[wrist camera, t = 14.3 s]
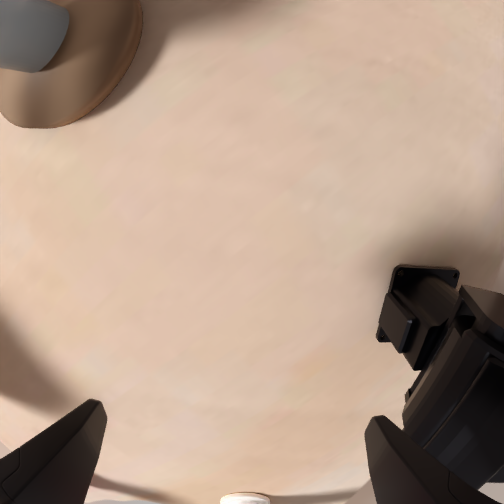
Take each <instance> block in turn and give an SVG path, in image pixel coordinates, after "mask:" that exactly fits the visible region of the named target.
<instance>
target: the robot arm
mask: <svg viewBox="0 0 504 504" xmlns="http://www.w3.org/2000/svg"><path fill="white" fill-rule="evenodd" d="M401 270H402V272H401V273H400V274H399V275H398V272H399V271H401ZM454 273H455V275H454ZM453 275H454V276H453ZM459 275H460V273H459V271H458V270H457V269H455V268H441V267H424V266H406V265H398V266H396V267H395V268H394V270H393V273H392V277H391V282H390V286H389V290H388V293H387V294H386V296H385V300H384V303H383V307H382V311H381V314H380V318H379V327H378V330H377V333H376V338H377V340H378V341H379V342H392V344H393V345H394V347H395V349H396V350H397V352H398V353H399V354H400V353H403V355H404V356H405V358H406V359H407V361H408V362H409V364H410V366H411V367H412V369H413V370H414V371H418V370H421V372H420V374H419V375H418V377H417V379H416V380H415V382H414V383H413V385H412V387H411V388H410V389H408V391H407V392H406V394H405V402H406V404H405V406H404V409H403V413H402V418H403V425H404V428H403V430H401V429H400V428H398V427H397V426H396V425H395V424H394V423H393V422H391V421H390V420H389V419H388V418H387V417H386V416H384V415H380V416H374V417H372V418H371V420H370V422H369V424H368V426H367V428H366V430H365V443H366V450H367V458H368V466H369V473H370V477H371V481H372V485H373V489H374V493H375V497H376V501H377V504H502V503H499V502H497V501H495V500H493V499H491V498H490V497H488V496H486V495H485V494H483V493H481V492H480V491H478V489H479V488H481V487H482V486H483V485H484V484H485V483H504V295H503V294H501V293H496V292H492V291H488V290H483V289H479V288H475V287H470V286H466V285H461V288H460V290H459V292H458V291H457V290H456V286H457V282H458V279H459ZM382 335H384V336H383V337H381V336H382ZM106 424H107V415H106V412H105V410H104V407H103V404H102V402H101V401H99V400H95V399H88V400H87V401H85V402H84V403H83V404H81V405H80V406H78V407H77V408H76V409H74V410H73V411H71V412H70V413H68V414H67V415H66V416H64V417H63V418H61V419H60V420H58V421H57V422H55V423H54V424H53V425H51V426H50V427H48V428H47V429H45V430H44V431H42V432H41V433H39V434H38V435H36V436H35V437H34V438H32V439H31V440H29V441H28V442H26V443H25V444H23V445H22V446H20V448H17V449H16V450H14V451H13V452H11V453H9V454H8V455H7V456H5V457H3V458H1V459H0V504H84V501H85V498H86V495H87V491H88V488H89V485H90V482H91V479H92V476H93V473H94V470H95V467H96V465H97V462H98V458H99V455H100V450H101V446H102V441H103V437H104V433H105V428H106Z"/></svg>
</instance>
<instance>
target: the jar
mask: <svg viewBox="0 0 504 504" xmlns="http://www.w3.org/2000/svg"><path fill="white" fill-rule="evenodd" d="M68 25H69V13H68V10H67V9H66V8H64V7H62V6H59V5H57V4H55V3H52V2H50V1H48V0H0V68H2V69H9V70H15V71H20V72H26V73H35V72H37V71H39V70H41V69H42V68H43V67H44V66H46V65H47V64H48V62H49V61H50V60H51V59H52V58H53V56H54V55H55V54H56V52H57V51H58V49H59V47H60V45H61V44H62V42H63V40H64V37H65V35H66V32H67V29H68Z"/></svg>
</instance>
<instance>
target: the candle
mask: <svg viewBox="0 0 504 504" xmlns="http://www.w3.org/2000/svg"><path fill="white" fill-rule="evenodd" d="M220 504H270V500H269V498H268V497H266V496H264V495H260V494H256V493H233V494H228V495H226V496H224V497H222V498H221V500H220Z"/></svg>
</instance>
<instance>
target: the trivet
mask: <svg viewBox="0 0 504 504" xmlns="http://www.w3.org/2000/svg"><path fill="white" fill-rule="evenodd" d="M48 1H50V2H52V3H55V4H57V5H59V6H62V7H64V8H66V9H67V10H68V13H69V25H68V29H67V32H66V35H65V37H64V40H63V42H62V44H61V45H60V47H59V49H58V51H57V52H56V54H55V55H54V56H53V58H52V59H51V60H50V61H49V62H48V64H47V65H46V66H44V67H43V68H42V69H41V70H39V71H37V72H35V73H26V72H20V71H15V70H9V69H2V68H0V112H1V114H2V115H3V116H4V117H5V118H6V119H7V120H8V121H9V122H10V123H12V124H14V125H16V126H19V127H22V128H46V129H47V128H57V127H61V126H65V125H67V124H70V123H72V122H74V121H76V120H78V119H80V118H82V117H83V116H85V115H86V114H88V113H89V112H91V111H92V110H93V109H94V108H95V107H97V106H98V105H99V104H100V103H101V102H102V101H103V100H104V99H105V98H106V97H107V96H108V95H109V94H110V93H111V92H112V90H113V89H114V88H115V87H116V86H117V84H118V83H119V81H120V80H121V79H122V77H123V76H124V74H125V73H126V71H127V69H128V67H129V66H130V64H131V62H132V60H133V58H134V55H135V53H136V50H137V48H138V45H139V42H140V37H141V33H142V24H143V17H142V9H141V5H140V2H139V0H48Z"/></svg>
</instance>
